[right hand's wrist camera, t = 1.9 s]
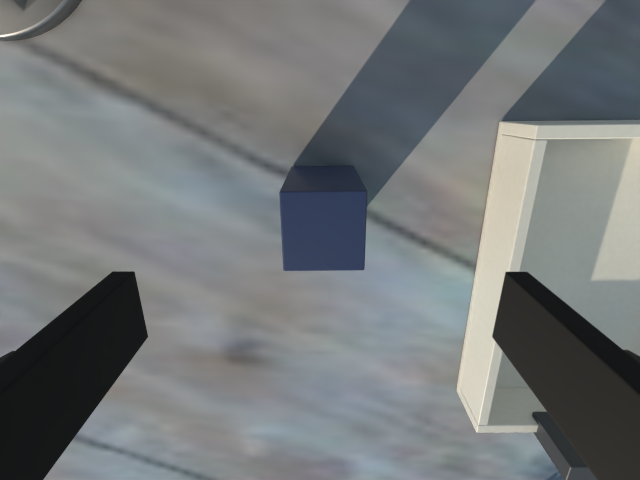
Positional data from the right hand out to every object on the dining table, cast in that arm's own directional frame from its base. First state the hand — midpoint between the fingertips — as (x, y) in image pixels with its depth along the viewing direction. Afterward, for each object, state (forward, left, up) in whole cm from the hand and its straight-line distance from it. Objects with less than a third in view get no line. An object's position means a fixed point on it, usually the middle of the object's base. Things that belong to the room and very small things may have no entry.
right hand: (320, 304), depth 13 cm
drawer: (+6, +21, -15) cm, 27 cm away
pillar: (0, 0, -15) cm, 15 cm away
